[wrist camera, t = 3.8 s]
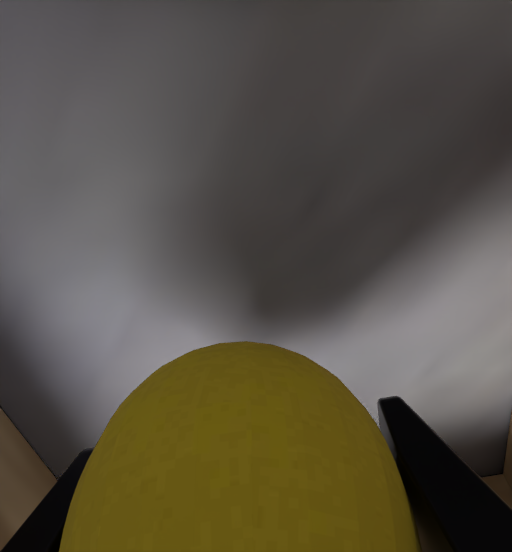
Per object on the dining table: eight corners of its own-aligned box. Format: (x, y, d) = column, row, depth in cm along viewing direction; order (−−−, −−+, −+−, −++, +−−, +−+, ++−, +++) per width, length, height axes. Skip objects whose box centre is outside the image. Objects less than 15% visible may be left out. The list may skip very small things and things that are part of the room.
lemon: (128, 247, 9) (-206, 1020, 2) (389, 285, 10) (729, 960, 3) (120, 427, 12) (-35, 1000, 5) (321, 446, 13) (416, 972, 6)
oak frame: (85, 552, 17) (45, 695, 13) (-202, 216, 9) (-460, 349, 6) (531, 486, 15) (614, 629, 12) (624, 21, 8) (924, 49, 4)
